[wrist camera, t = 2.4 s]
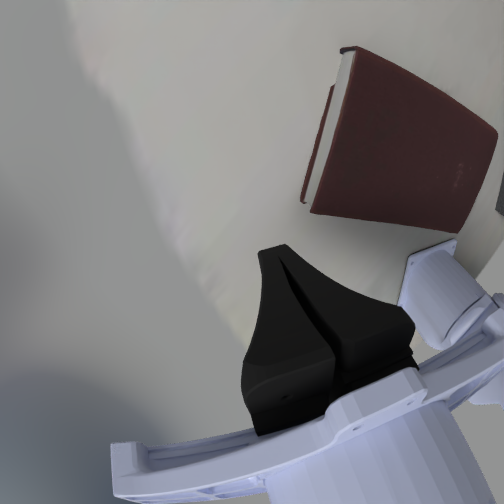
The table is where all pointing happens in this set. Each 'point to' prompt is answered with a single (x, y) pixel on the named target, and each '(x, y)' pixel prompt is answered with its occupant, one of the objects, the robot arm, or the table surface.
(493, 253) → the table surface
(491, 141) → the book
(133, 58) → the table surface
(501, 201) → the bookend
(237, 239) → the table surface
